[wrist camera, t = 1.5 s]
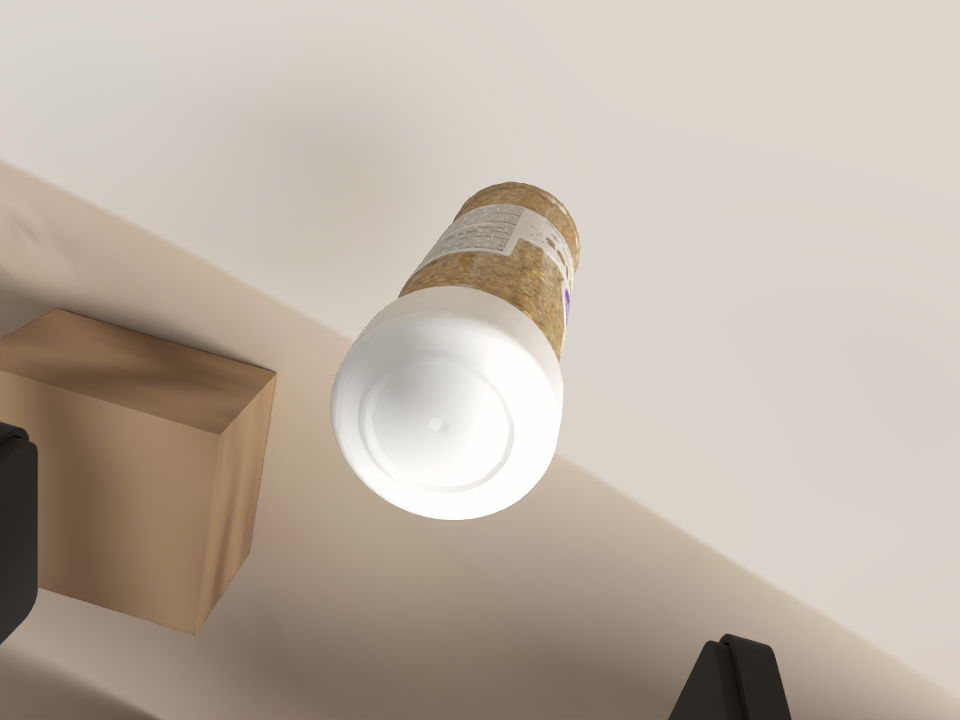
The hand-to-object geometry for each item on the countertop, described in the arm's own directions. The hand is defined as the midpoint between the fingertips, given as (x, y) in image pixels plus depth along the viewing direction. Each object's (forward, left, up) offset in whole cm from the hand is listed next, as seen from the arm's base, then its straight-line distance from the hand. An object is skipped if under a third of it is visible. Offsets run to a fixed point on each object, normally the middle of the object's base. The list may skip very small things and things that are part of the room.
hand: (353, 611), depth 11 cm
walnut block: (+12, +12, -18) cm, 25 cm away
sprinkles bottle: (0, 0, -19) cm, 19 cm away
